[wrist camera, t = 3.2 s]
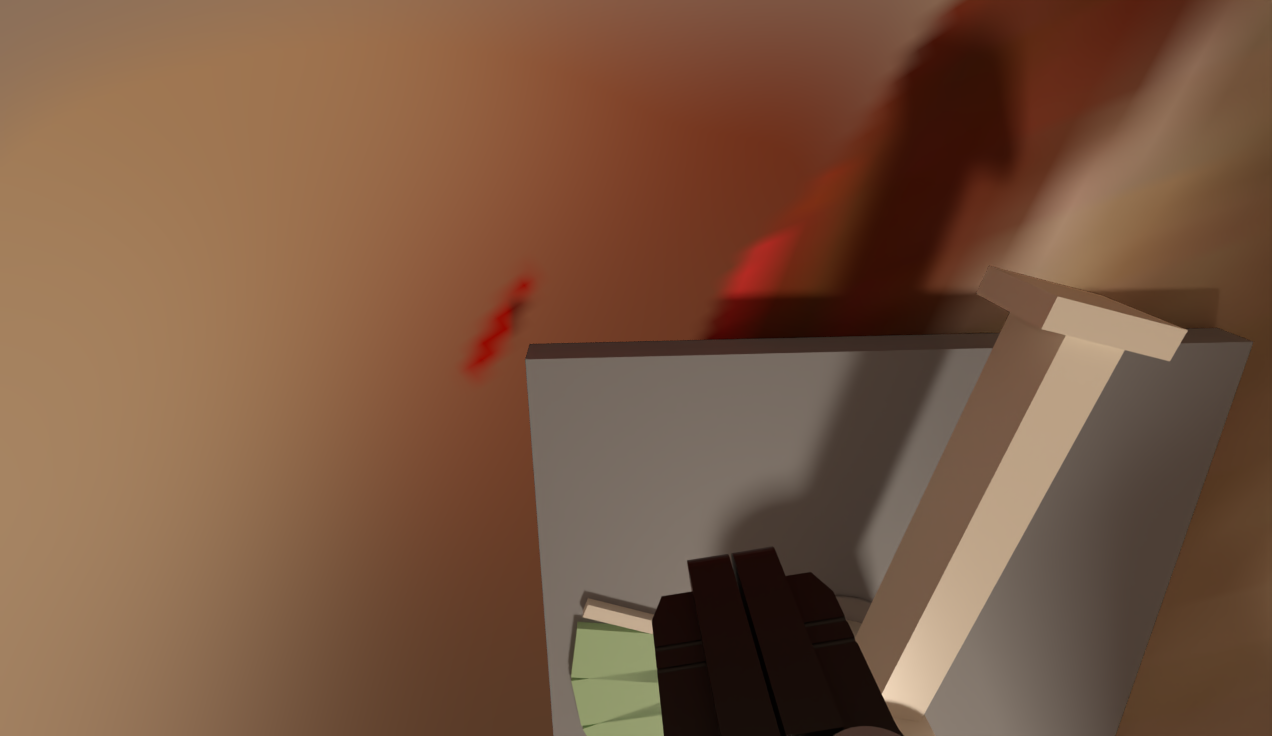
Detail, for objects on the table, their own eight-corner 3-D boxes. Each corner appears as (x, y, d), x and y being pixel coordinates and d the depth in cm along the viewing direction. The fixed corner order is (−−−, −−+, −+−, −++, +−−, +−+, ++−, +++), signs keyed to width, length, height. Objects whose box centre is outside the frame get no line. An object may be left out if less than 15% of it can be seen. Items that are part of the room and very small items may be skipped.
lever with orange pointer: (806, 842, 25) (843, 979, 21) (692, 828, 25) (709, 965, 21) (1091, 287, 18) (1229, 342, 14) (936, 246, 17) (1034, 292, 13)
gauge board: (1062, 799, 27) (1087, 837, 26) (564, 824, 27) (562, 865, 25) (1217, 327, 20) (1263, 345, 19) (529, 344, 19) (524, 363, 18)
